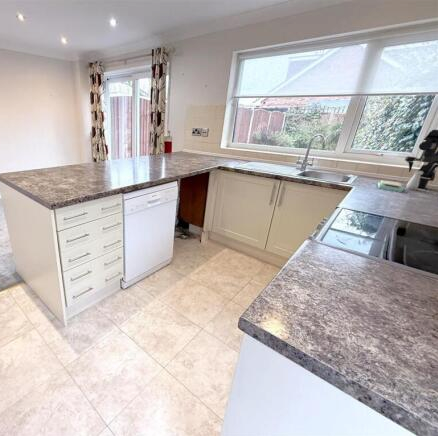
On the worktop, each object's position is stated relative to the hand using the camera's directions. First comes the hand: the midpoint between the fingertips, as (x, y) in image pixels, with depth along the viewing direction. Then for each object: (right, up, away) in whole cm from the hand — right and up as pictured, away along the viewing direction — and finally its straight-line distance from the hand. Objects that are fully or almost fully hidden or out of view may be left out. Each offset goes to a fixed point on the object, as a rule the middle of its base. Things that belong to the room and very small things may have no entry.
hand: (418, 173), depth 168 cm
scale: (-16, -10, +5) cm, 19 cm away
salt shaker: (-1, -11, +5) cm, 12 cm away
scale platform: (-15, -7, +4) cm, 17 cm away
